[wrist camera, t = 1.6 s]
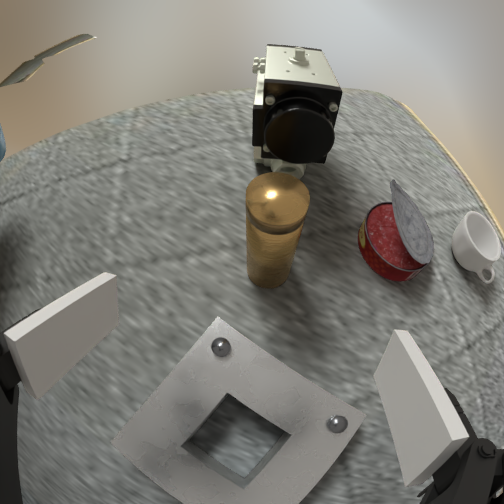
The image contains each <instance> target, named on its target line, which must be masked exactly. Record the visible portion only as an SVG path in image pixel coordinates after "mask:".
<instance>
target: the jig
mask: <svg viewBox="0 0 504 504" xmlns="http://www.w3.org/2000/svg"><path fill="white" fill-rule="evenodd" d="M229 394H230V395H232V396H233V397H235V398H236V399H237V400H239V401H240V402H242V403H243V404H244V405H246V406H247V407H249V408H250V409H252V410H253V411H255V412H256V413H258V414H259V415H261V416H262V417H264V418H265V419H267V420H268V421H270V422H271V423H273V424H275V425H276V426H278V427H279V428H281V429H283V430H284V431H285V432H284V433H283V435H282V436H281V437H280V438H279V439H278V441H277V442H276V443H275V444H274V446H273V447H272V448H271V449H270V450H269V451H268V453H267V454H266V455H265V456H264V457H263V458H262V460H261V461H260V462H259V463H258V464H257V465H256V466H255V467H254V469H253V470H252V471H251V472H250V473H249V474H248V475H247V476H246V477H245V478H243V477H242V476H240V475H239V474H237V473H235V472H234V471H232V470H231V469H229V468H227V467H226V466H224V465H223V464H221V463H220V462H218V461H217V460H215V459H214V458H213V457H211V456H210V455H208V454H207V453H206V452H204V451H203V450H201V449H200V448H199V447H197V446H196V445H195V444H193V443H192V442H191V441H189V440H190V439H191V437H192V436H193V435H194V434H195V433H196V432H197V431H198V430H199V429H200V427H201V426H202V425H203V424H204V423H205V422H206V421H207V419H208V418H209V417H210V416H211V415H212V414H213V412H214V411H215V410H216V409H217V408H218V407H219V405H220V404H221V403H222V402H223V401H224V399H225V398H226V397H227V396H228V395H229ZM365 417H366V414H364V413H363V412H361V411H359V410H357V409H356V408H354V407H352V406H350V405H349V404H347V403H345V402H344V401H342V400H340V399H339V398H337V397H335V396H334V395H332V394H330V393H329V392H327V391H325V390H324V389H322V388H321V387H319V386H317V385H316V384H314V383H313V382H311V381H309V380H308V379H306V378H305V377H303V376H302V375H300V374H299V373H297V372H296V371H294V370H293V369H291V368H289V367H288V366H286V365H285V364H283V363H282V362H281V361H279V360H278V359H276V358H275V357H273V356H272V355H270V354H269V353H267V352H266V351H264V350H263V349H262V348H260V347H259V346H257V345H256V344H255V343H253V342H252V341H250V340H249V339H247V338H246V337H245V336H243V335H242V334H241V333H239V332H238V331H236V330H235V329H234V328H232V327H231V326H230V325H228V324H227V323H226V322H224V321H223V320H222V319H220V318H219V317H217V318H216V319H215V321H214V322H213V323H212V324H211V325H210V326H209V328H208V329H207V330H206V331H205V332H204V334H203V335H202V336H201V337H200V338H199V340H198V341H197V342H196V343H195V344H194V345H193V347H192V348H191V349H190V350H189V351H188V353H187V354H186V355H185V356H184V357H183V358H182V360H181V361H180V362H179V363H178V364H177V366H176V367H175V368H174V369H173V370H172V371H171V373H170V374H169V375H168V376H167V377H166V378H165V380H164V381H163V382H162V383H161V384H160V385H159V386H158V388H157V389H156V390H155V391H154V392H153V393H152V395H151V396H150V397H149V398H148V399H147V400H146V402H145V403H144V404H143V405H142V406H141V407H140V408H139V410H138V411H137V412H136V413H135V414H134V415H133V416H132V418H131V419H130V420H129V421H128V422H127V423H126V424H125V426H124V427H123V428H122V429H121V430H120V431H119V432H118V434H117V435H116V436H115V437H114V438H113V439H112V440H111V441H110V442H111V443H112V444H113V446H114V447H115V448H117V449H118V450H119V451H120V452H121V453H122V454H123V455H124V456H125V457H126V458H127V459H128V460H129V461H130V462H131V463H132V464H134V465H135V466H136V467H137V468H138V469H139V470H140V471H141V472H143V473H144V474H145V475H146V476H147V477H149V478H150V479H151V480H152V481H154V482H155V483H156V484H157V485H159V486H160V487H161V488H162V489H164V490H165V491H166V492H168V493H169V494H170V495H172V496H173V497H175V498H176V499H177V500H179V501H180V502H182V503H183V504H299V503H300V502H301V501H302V499H303V498H304V497H305V496H306V495H307V494H308V493H309V492H310V491H311V490H312V488H313V487H314V486H315V485H316V484H317V483H318V481H319V480H320V479H321V478H322V477H323V475H324V474H325V473H326V472H327V470H328V469H329V468H330V467H331V465H332V464H333V463H334V462H335V460H336V459H337V458H338V456H339V455H340V454H341V452H342V451H343V449H344V448H345V447H346V445H347V444H348V442H349V441H350V440H351V438H352V437H353V435H354V434H355V432H356V431H357V429H358V428H359V426H360V425H361V423H362V421H363V420H364V418H365Z"/></svg>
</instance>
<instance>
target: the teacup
mask: <svg viewBox="0 0 504 504" xmlns="http://www.w3.org/2000/svg"><path fill="white" fill-rule="evenodd" d="M452 251H453V254H454V256H455V258H456V260H457V262H458V263H459V264H460V265H461V266H462V267H463V268H465V269H466V270H469V271H473V272H476V273H477V275H478V276H479V278H480V279H481V280H482V281H483V282H484V283H486V284H490V283H491V282H492V281H493V280H494V277H495V272H494V269H493V267H492V264H493V263H494V262H495V261H496V260H498V259H499V257H500V254H501V246H500V241H499V238H498V235H497V233H496V231H495V229H494V228H493V226H492V225H491V224H490V222H489V221H488V220H487V219H486V218H485V217H484V216H483V215H481V214H480V213H478V212H475V211H470V212H468V213H467V214H466V215H465V216H464V218H463V219H462V220H461V222H460V223H459V224H458V226H457V227H456V229H455V231H454V233H453V236H452ZM483 269H487V270H489V271H490V272H491V274H492V277H491V279H490V280H489V281H487V280H486V279H485V278H484V276H483V274H482V271H483Z"/></svg>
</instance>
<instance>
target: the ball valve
mask: <svg viewBox="0 0 504 504" xmlns="http://www.w3.org/2000/svg"><path fill="white" fill-rule="evenodd" d="M258 64H259V66H258ZM257 71H258V76H257V83H256V90H255V98H254V105H253V134H252V146H254V162H255V163H264V166H271V170H272V171H273V172H281V173H286V174H289V175H292V176H294V177H296V178H298V179H299V180H300V179H301V177H302V176H303V175H304V171H305V169H306V163H311V162H314V163H323V164H324V163H325V161H326V157H327V153H328V152H329V151H330V150H331V148H332V146H333V144H334V139H335V133H334V126H335V122H336V118H337V114H338V109H339V105H340V101H341V97H342V90H341V88H340V86H339V84H338V82H337V79H336V77H335V75H334V74H333V71H332V69H331V67H330V65H329V63H328V61H327V59H326V58H325V56H324V54H323V52H322V50H320V49H313V48H305V47H296V46H286V45H272V44H268V45H267V50H266V58H261V60H259V58H258V57H255V58H254V63H253V73H257Z"/></svg>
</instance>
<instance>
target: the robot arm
mask: <svg viewBox="0 0 504 504" xmlns="http://www.w3.org/2000/svg"><path fill="white" fill-rule="evenodd" d="M5 152H6V145H5V139H4V135H3V132H2V128H1V125H0V162H1V160H2V159H3V158H4V156H5ZM118 325H119V312H118V297H117V276H116V275H113V274H109V273H106V272H104V273H102V274H100V275H99V276H97V277H95V278H93V279H92V280H90V281H88V282H86V283H84V284H83V285H81V286H79V287H77V288H76V289H74V290H72V291H71V292H69V293H67V294H65V295H64V296H62V297H60V298H59V299H57V300H55V301H54V302H52V303H50V304H49V305H47V306H45V307H44V308H41V309H38V310H35V311H34V312H32V313H31V314H29V315H28V316H26V317H24V318H23V319H22V320H19V321H18V322H16V323H15V324H13V325H12V326H10V327H8V328H7V329H5V330H4V331H2V332H1V333H0V504H23V501H22V495H21V488H20V480H19V471H18V456H17V414H18V399H19V387H18V385H17V384H18V383H19V382H20V381H22V383H23V386H24V388H25V390H26V392H27V393H29V394H30V395H31V396H33V397H34V398H35V399H37V400H39V399H40V398H41V397H42V396H43V395H44V394H45V393H46V392H47V391H48V390H49V389H50V388H51V387H52V386H53V385H55V384H56V383H57V382H58V381H59V380H60V379H61V378H62V377H63V376H64V375H65V374H66V373H67V372H68V371H69V370H70V369H71V368H72V367H73V366H74V365H75V364H77V363H78V362H79V361H80V360H81V359H82V358H83V357H84V356H85V355H86V354H87V353H88V352H89V351H91V350H92V349H93V348H94V347H95V346H96V345H97V344H98V343H99V342H100V341H101V340H102V339H104V338H105V337H106V336H107V335H108V334H109V333H110V332H111V331H112V330H114V329H115V328H116V327H117V326H118ZM374 379H375V382H376V385H377V388H378V391H379V394H380V397H381V401H382V404H383V407H384V410H385V413H386V417H387V420H388V423H389V427H390V430H391V434H392V437H393V441H394V444H395V448H396V452H397V456H398V459H399V463H400V467H401V472H402V476H403V480H404V484H405V487H409V486H414V485H419V484H423V483H424V482H425V481H426V480H427V479H428V478H429V477H431V476H433V479H434V482H432V483H431V484H430V485H429V486H428V487H426V488H425V489H424V490H423V491H422V492H420V493H419V495H418V496H417V497H420V496H422V495H423V494H424V493H425V495H424V497H423V498H422V500H421V502H420V504H504V449H496V446H495V445H494V444H493V443H492V442H491V441H490V440H488V439H485V438H479V439H478V438H477V436H476V434H475V432H474V430H473V428H472V426H471V424H470V422H469V420H468V419H467V417H466V415H465V414H463V412H464V411H463V410H462V408H461V407H460V404H459V402H458V401H457V399H456V397H455V396H454V395H453V394H452V393H451V392H450V391H449V390H448V389H447V388H443V387H442V385H441V383H440V381H439V380H438V378H437V376H436V375H435V373H434V371H433V370H432V368H431V366H430V365H429V363H428V362H427V360H426V358H425V357H424V355H423V354H422V352H421V350H420V349H419V347H418V346H417V344H416V343H415V341H414V340H413V338H412V337H411V335H410V334H409V332H408V331H404V330H395V329H394V331H393V333H392V336H391V338H390V341H389V343H388V345H387V348H386V350H385V352H384V354H383V357H382V359H381V361H380V363H379V365H378V367H377V370H376V372H375V374H374ZM502 487H503V493H502V494H501V495H500V496H499V497H497V498H496V492H497V491H499V490H500V489H501V488H502Z"/></svg>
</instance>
